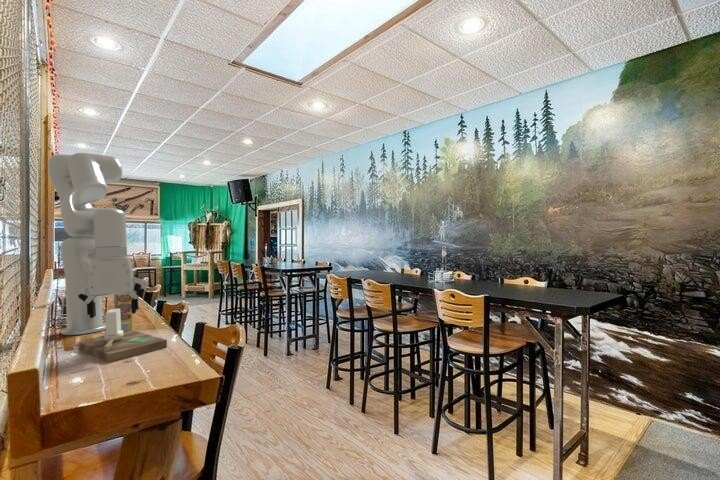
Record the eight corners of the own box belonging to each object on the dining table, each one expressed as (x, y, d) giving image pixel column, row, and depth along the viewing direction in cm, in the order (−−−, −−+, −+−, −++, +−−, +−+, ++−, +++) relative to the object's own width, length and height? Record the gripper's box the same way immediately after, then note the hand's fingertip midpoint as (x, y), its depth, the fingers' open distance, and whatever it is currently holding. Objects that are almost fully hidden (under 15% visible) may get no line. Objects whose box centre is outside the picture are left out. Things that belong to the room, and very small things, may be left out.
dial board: (79, 349, 100) (79, 341, 100) (134, 336, 112) (133, 329, 112) (109, 362, 89) (108, 353, 89) (166, 346, 100) (166, 339, 100)
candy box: (134, 335, 114) (132, 287, 113) (117, 338, 111) (115, 288, 111) (130, 330, 121) (128, 284, 120) (114, 332, 118) (112, 286, 118)
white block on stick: (107, 337, 103) (106, 309, 103) (125, 335, 105) (124, 307, 105) (96, 349, 92) (95, 318, 91) (116, 347, 93) (115, 316, 93)
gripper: (68, 255, 94) (71, 321, 94) (145, 252, 101) (148, 313, 101) (76, 255, 100) (79, 316, 100) (148, 251, 108) (151, 309, 108)
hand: (113, 314), depth 101 cm, fingers open, 9 cm apart
